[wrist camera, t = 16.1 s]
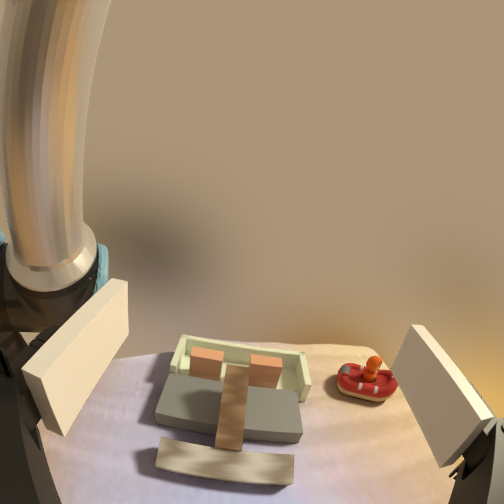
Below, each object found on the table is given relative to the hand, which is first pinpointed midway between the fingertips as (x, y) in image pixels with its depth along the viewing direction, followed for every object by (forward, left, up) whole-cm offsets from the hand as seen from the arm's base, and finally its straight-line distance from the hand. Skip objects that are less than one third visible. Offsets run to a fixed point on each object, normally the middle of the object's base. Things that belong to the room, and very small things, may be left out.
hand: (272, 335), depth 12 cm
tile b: (+5, +26, -24) cm, 36 cm away
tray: (+1, +28, -27) cm, 39 cm away
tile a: (-5, +25, -24) cm, 35 cm away
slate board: (0, +19, -27) cm, 34 cm away
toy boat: (+24, +28, -28) cm, 46 cm away
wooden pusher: (0, +7, -26) cm, 27 cm away
